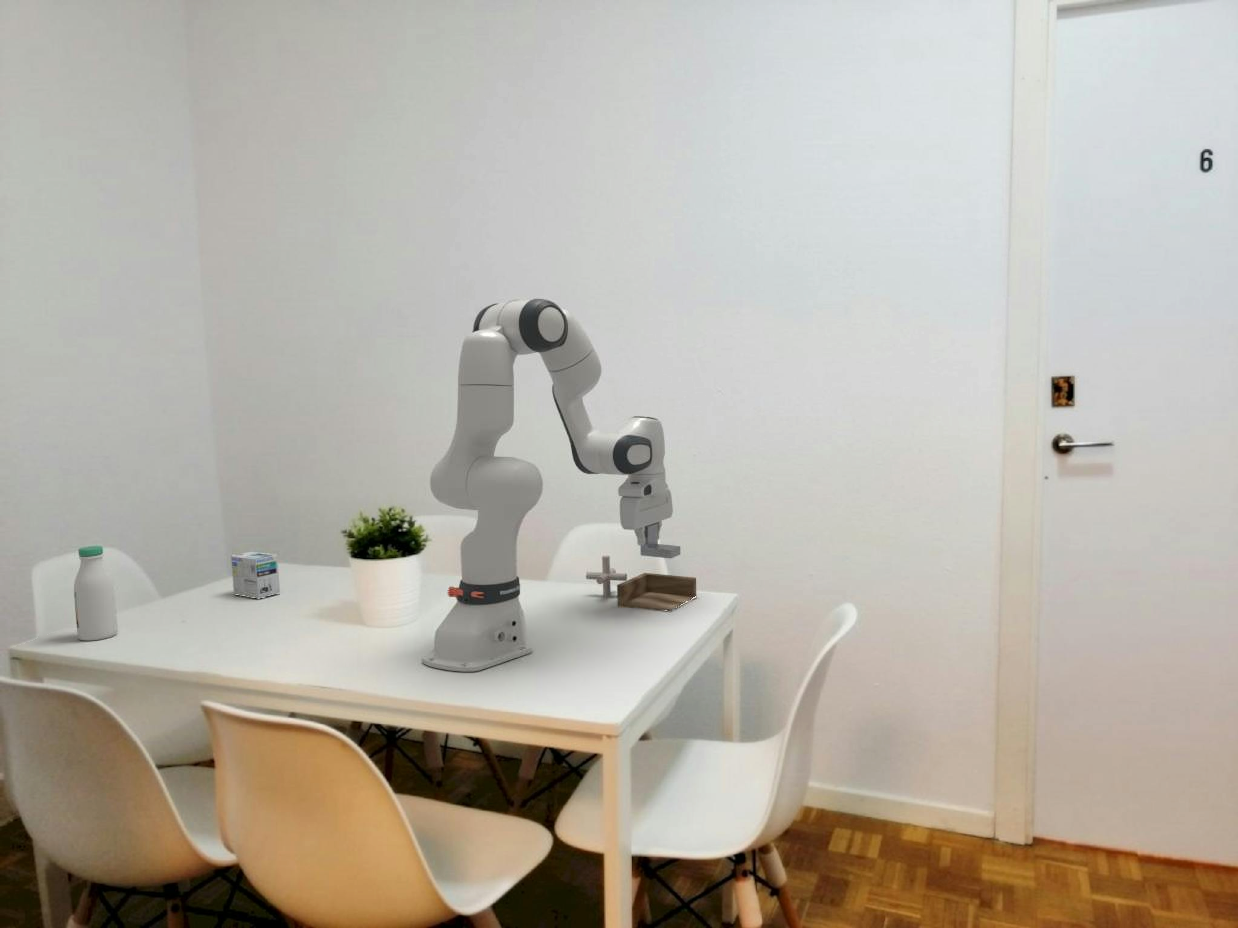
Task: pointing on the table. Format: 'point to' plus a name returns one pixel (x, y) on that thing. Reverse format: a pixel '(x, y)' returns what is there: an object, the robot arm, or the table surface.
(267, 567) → the light bulb box
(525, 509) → the robot arm
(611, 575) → the pipe connector
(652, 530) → the bracket
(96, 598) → the milk bottle
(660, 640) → the table surface
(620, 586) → the wooden corner tray
